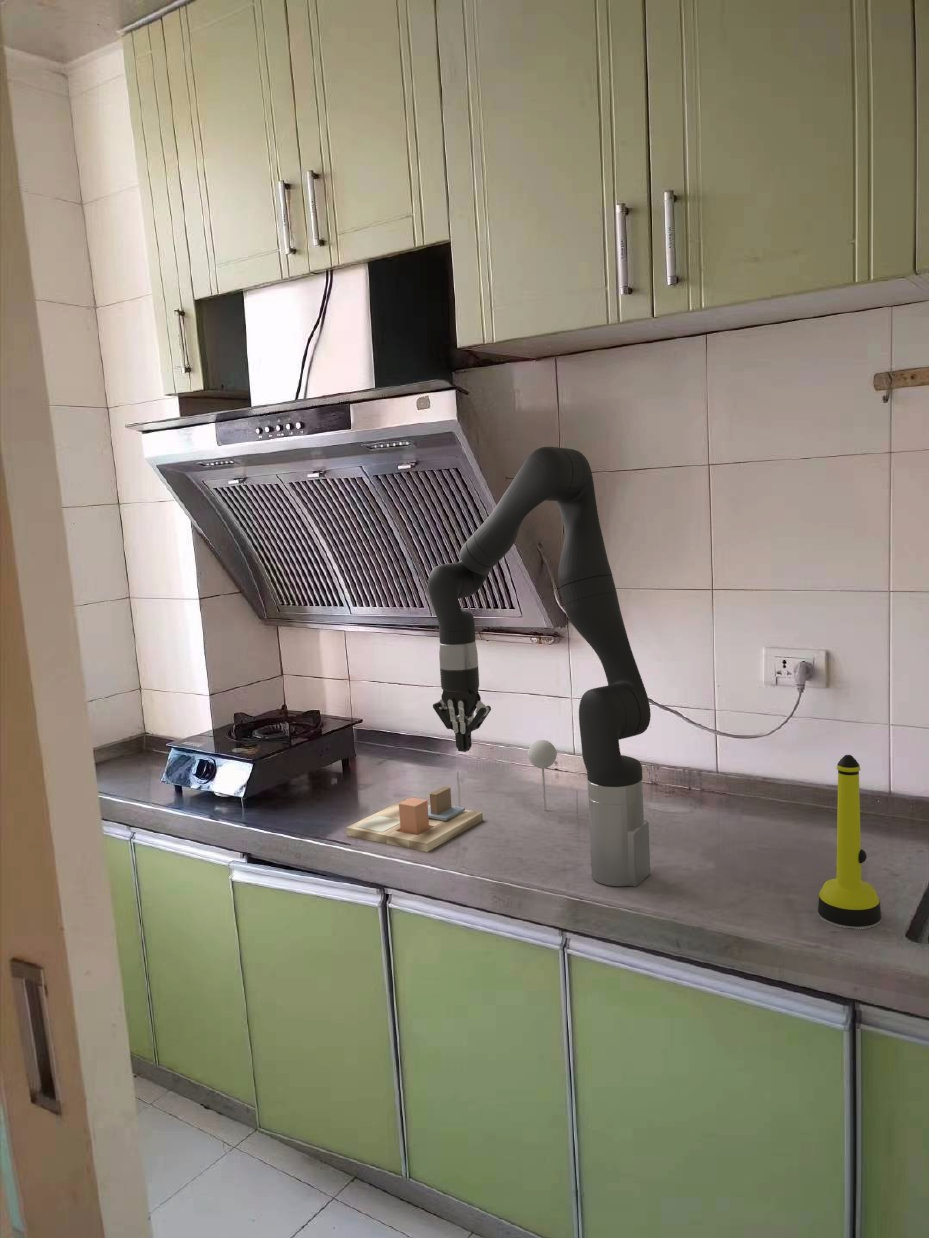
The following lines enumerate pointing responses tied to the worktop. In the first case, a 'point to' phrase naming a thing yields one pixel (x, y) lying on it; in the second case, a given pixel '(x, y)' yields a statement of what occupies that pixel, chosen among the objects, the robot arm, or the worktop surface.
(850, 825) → the flashlight
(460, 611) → the robot arm
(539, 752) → the lollipop
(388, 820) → the board
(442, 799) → the lid
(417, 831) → the block
